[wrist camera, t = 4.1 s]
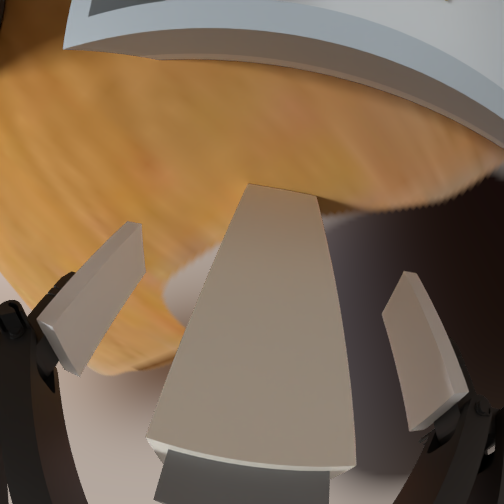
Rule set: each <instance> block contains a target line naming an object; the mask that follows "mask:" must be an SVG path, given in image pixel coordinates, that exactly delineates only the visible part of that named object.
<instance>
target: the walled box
mask: <svg viewBox="0 0 504 504" xmlns="http://www.w3.org/2000/svg"><path fill="white" fill-rule="evenodd" d="M63 50H87V51H100V52H110V53H118V54H126V55H133V56H139V57H145V58H151V59H156V60H172V59H210V60H230V61H243V62H253V63H262V64H270V65H277V66H284V67H290V68H296V69H301V70H307V71H312V72H316V73H321V74H325V75H330V76H334V77H338V78H342V79H346V80H349V81H353V82H356V83H360V84H363V85H367V86H370V87H373V88H376V89H379V90H382V91H385V92H388V93H391V94H394V95H396V96H399V97H402V98H404V99H407V100H409V101H412V102H414V103H417V104H419V105H422V106H424V107H426V108H429V109H431V110H433V111H435V112H438V113H440V114H442V115H444V116H446V117H448V118H450V119H452V120H454V121H456V122H458V123H460V124H462V125H464V126H466V127H468V128H469V129H471V130H473V131H475V132H477V133H478V134H480V135H482V136H484V137H485V138H487V139H489V140H490V141H492V142H493V143H495V144H497V145H498V146H500V147H502V148H504V0H72V2H71V6H70V11H69V15H68V20H67V26H66V31H65V37H64V44H63Z"/></svg>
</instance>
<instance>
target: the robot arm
mask: <svg viewBox="0 0 504 504" xmlns="http://www.w3.org/2000/svg"><path fill="white" fill-rule="evenodd" d="M4 4H5V0H0V25H1V21H2V16H3V11H4ZM145 273H146V270H145V261H144V251H143V239H142V226H141V224H140V223H134V222H128V221H127V222H126V223H125V224H124V225H123V226H122V227H121V228H120V229H119V230H118V231H117V232H116V233H114V234H113V235H112V236H111V237H110V238H109V239H108V240H107V241H106V242H105V243H104V244H103V245H102V246H101V247H100V248H99V249H98V250H97V251H96V252H95V253H94V254H93V255H92V256H91V257H90V258H89V260H88V261H87V262H86V263H85V264H84V265H83V266H82V267H81V268H80V269H79V270H78V271H77V272H76V273H75V272H70V273H68V274H67V275H65V276H63V277H62V278H61V279H60V280H59V281H58V282H57V283H56V284H55V285H54V288H51V290H50V291H49V292H48V294H46V295H45V296H44V297H43V299H42V300H41V301H40V302H39V303H38V304H37V306H36V307H35V308H34V309H33V310H32V312H31V313H30V314H29V315H28V317H27V316H26V314H25V312H24V309H23V308H22V305H21V304H20V303H19V302H18V301H16V300H9V301H6V302H3V303H2V304H0V504H9V503H8V488H9V492H10V496H11V499H12V503H13V504H88V502H87V500H86V497H85V495H84V492H83V489H82V486H81V483H80V480H79V477H78V473H77V470H76V467H75V463H74V460H73V456H72V452H71V448H70V444H69V440H68V435H67V431H66V426H65V420H64V415H63V409H62V403H61V396H60V388H59V379H58V372H57V368H56V367H55V366H56V364H57V363H58V361H60V363H61V365H62V366H63V368H64V370H66V371H68V372H71V373H73V374H75V375H77V376H79V377H80V376H81V374H82V372H83V370H84V369H85V367H86V365H87V363H88V362H89V360H90V358H91V356H92V355H93V353H94V351H95V350H96V348H97V346H98V345H99V343H100V341H101V340H102V338H103V337H104V335H105V333H106V332H107V330H108V328H109V327H110V325H111V324H112V322H113V321H114V319H115V317H116V316H117V314H118V313H119V311H120V310H121V308H122V307H123V305H124V304H125V302H126V301H127V299H128V297H129V296H130V295H131V293H132V292H133V290H134V289H135V287H136V286H137V284H138V283H139V281H140V280H141V278H142V277H143V275H144V274H145ZM382 317H383V320H384V323H385V327H386V330H387V334H388V337H389V340H390V344H391V348H392V352H393V355H394V360H395V364H396V368H397V372H398V376H399V380H400V385H401V389H402V394H403V399H404V404H405V409H406V414H407V420H408V425H409V430H410V431H416V430H424V429H426V428H427V427H428V426H429V425H431V424H432V423H433V422H434V426H435V429H433V430H432V431H431V432H429V433H428V434H427V435H425V436H424V437H422V438H421V439H420V440H419V442H420V443H421V442H423V441H424V440H426V439H427V438H428V439H427V441H426V442H425V443H424V445H425V446H424V448H423V450H422V452H421V454H420V456H419V458H418V460H417V462H416V464H415V466H414V468H413V470H412V472H411V474H410V476H409V477H408V479H407V481H406V483H405V484H404V487H403V488H402V490H401V492H400V493H399V495H398V496H397V498H396V500H395V501H394V503H393V504H504V407H503V408H502V409H496V408H492V407H491V404H490V403H489V401H488V400H487V399H486V398H485V397H484V396H482V395H477V394H476V392H475V389H474V386H473V384H472V380H471V378H470V375H469V372H468V370H467V367H466V366H465V362H464V360H463V358H462V355H461V352H460V350H459V348H458V346H457V344H456V343H455V342H454V341H453V339H452V338H451V337H448V336H447V334H446V331H445V329H444V327H443V325H442V322H441V320H440V318H439V316H438V314H437V312H436V310H435V308H434V306H433V304H432V302H431V300H430V298H429V296H428V294H427V292H426V290H425V288H424V286H423V284H422V282H421V281H420V279H419V277H418V275H417V274H416V273H411V272H407V271H404V272H403V274H402V276H401V278H400V280H399V282H398V284H397V286H396V288H395V290H394V292H393V294H392V296H391V298H390V300H389V301H388V304H387V305H386V307H385V309H384V311H383V313H382ZM494 445H495V451H494V452H493V453H491V454H489V455H488V453H487V450H488V449H490V448H491V447H493V446H494ZM7 484H8V488H7Z"/></svg>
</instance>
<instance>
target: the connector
mask: <svg viewBox="0 0 504 504" xmlns="http://www.w3.org/2000/svg"><path fill="white" fill-rule="evenodd" d="M145 438H146V439H147V441H148V442H149V444H150V445H151V447H152V448H153V450H154V451H155V453H156V454H157V456H158V457H159V459H160V460H161V461H162V463H163V464H164V465H163V468H162V472H161V475H160V479H159V482H158V485H157V489H156V492H155V496H154V500H155V501H158V502H160V503H162V504H329V483H330V479H332V478H334V477H336V476H338V475H340V474H342V473H344V472H346V471H347V470H349V469H351V468H353V467H355V466H356V448H355V431H354V417H353V405H352V394H351V385H350V375H349V367H348V359H347V351H346V344H345V338H344V331H343V324H342V317H341V311H340V306H339V300H338V295H337V288H336V283H335V278H334V273H333V267H332V262H331V258H330V253H329V248H328V244H327V239H326V234H325V230H324V226H323V221H322V217H321V213H320V209H319V205H318V201H317V197H316V196H313V195H309V194H303V193H298V192H293V191H288V190H282V189H277V188H271V187H266V186H260V185H254V184H248V185H247V187H246V189H245V191H244V193H243V196H242V198H241V200H240V202H239V205H238V207H237V209H236V211H235V214H234V216H233V218H232V220H231V223H230V225H229V227H228V229H227V232H226V234H225V236H224V239H223V241H222V243H221V246H220V248H219V250H218V252H217V255H216V257H215V260H214V262H213V264H212V267H211V269H210V272H209V274H208V276H207V278H206V281H205V283H204V286H203V288H202V291H201V293H200V295H199V298H198V300H197V303H196V305H195V308H194V310H193V312H192V315H191V318H190V320H189V323H188V325H187V327H186V330H185V332H184V335H183V337H182V340H181V342H180V345H179V348H178V350H177V353H176V355H175V358H174V360H173V363H172V366H171V368H170V371H169V373H168V376H167V379H166V381H165V384H164V387H163V389H162V392H161V395H160V397H159V400H158V403H157V406H156V408H155V411H154V414H153V417H152V419H151V422H150V425H149V428H148V431H147V433H146V436H145Z"/></svg>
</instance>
